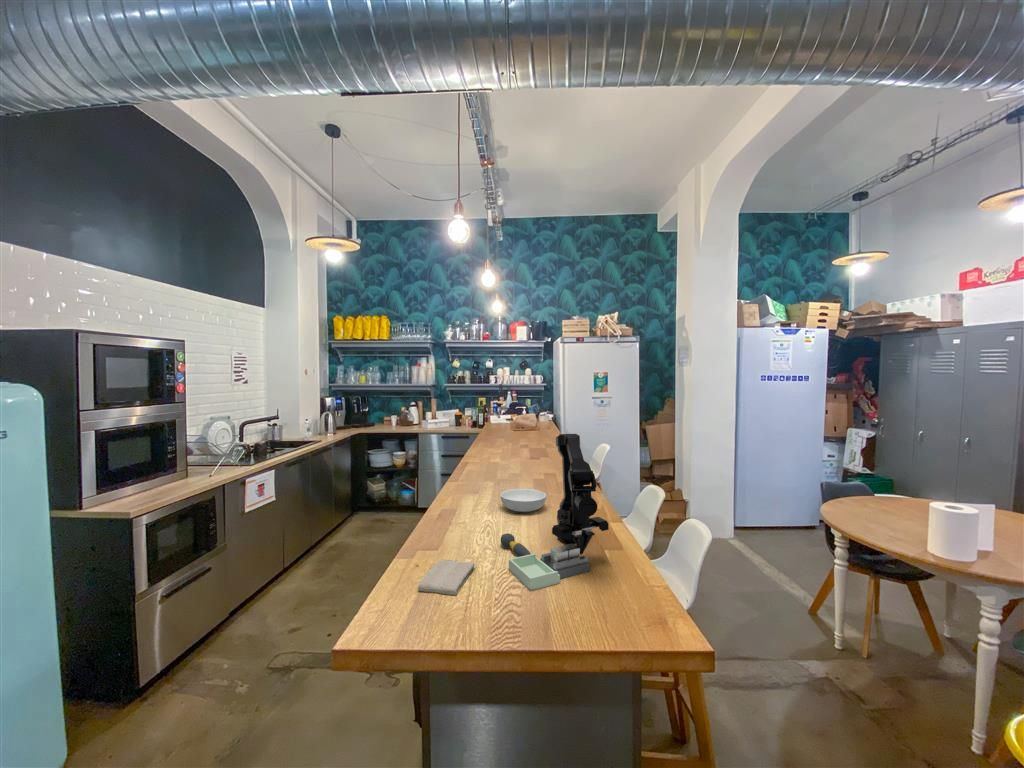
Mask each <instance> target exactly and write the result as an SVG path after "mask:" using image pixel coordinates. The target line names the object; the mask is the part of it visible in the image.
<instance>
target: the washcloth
mask: <svg viewBox="0 0 1024 768" xmlns="http://www.w3.org/2000/svg"><path fill="white" fill-rule="evenodd" d="M474 570H475V563H474V562H472V561H459V560H458V561H457V560H453V559H443V558H442V559H441V560H439V562H437V563H436V564H433V565H432V567H431V568H430V570H429V571H428V572H427V573H426V574H425V575H424V576H423V577H422V579H420V581H419V584H418V586H417V590H418V591H420V592H425V593H435V594H440V595H448V596H456V595H458V593H459V592H460V590H461V588H462V587H463V586H464V585H465V583H466V581H467V579H468V578H469V576H471V575H472V573H473V571H474Z"/></svg>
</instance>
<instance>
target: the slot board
mask: <svg viewBox="0 0 1024 768" xmlns="http://www.w3.org/2000/svg"><path fill="white" fill-rule="evenodd" d="M540 556H541V557H540V558H539V559H540V560H541V561H542V562H544V563H545V564H546V565H548V566H549V567H550V568H551V569H553V570H554V571H558V574H559V575H560V580H562V579H565V578H568V577H573V576H577V575H580V574H584V573H589V572H590V567H591V566H590V565H591V563H589V557H588V556H586V555H583V556H580V557H578V558H574V559H570V560H566V561H562V562H558V563H553V562H551V552H548V553H543V554H542V553H541V555H540Z"/></svg>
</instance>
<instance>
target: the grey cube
mask: <svg viewBox="0 0 1024 768" xmlns="http://www.w3.org/2000/svg"><path fill="white" fill-rule="evenodd" d="M562 547H563V548H565V549H566V550H568V560H570V559H574V558H578V557H581V554H580V548H579V547H577V546H576V544H575V543H572V544H568V545H567V544H564V545H562Z"/></svg>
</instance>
